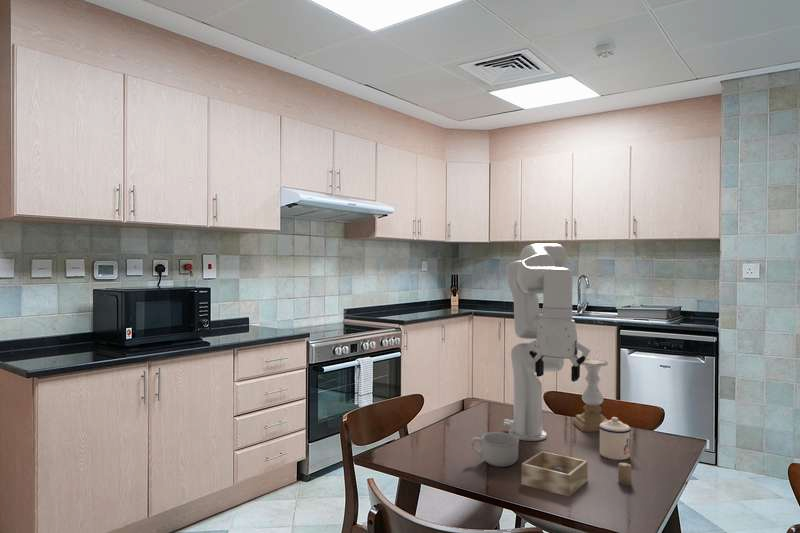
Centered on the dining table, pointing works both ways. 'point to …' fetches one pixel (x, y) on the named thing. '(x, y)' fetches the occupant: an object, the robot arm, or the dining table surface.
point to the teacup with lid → (614, 439)
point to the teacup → (498, 448)
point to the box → (554, 473)
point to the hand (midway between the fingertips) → (557, 378)
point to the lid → (624, 474)
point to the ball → (559, 469)
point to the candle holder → (591, 399)
